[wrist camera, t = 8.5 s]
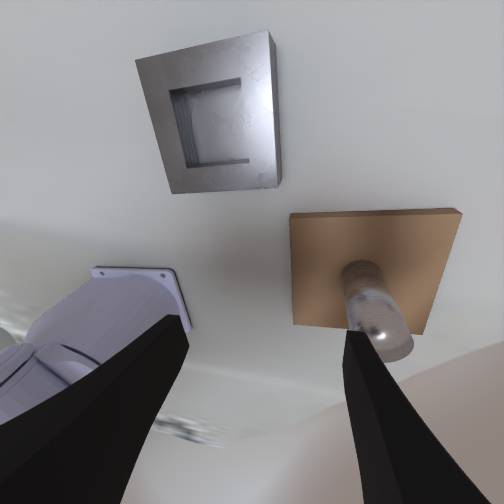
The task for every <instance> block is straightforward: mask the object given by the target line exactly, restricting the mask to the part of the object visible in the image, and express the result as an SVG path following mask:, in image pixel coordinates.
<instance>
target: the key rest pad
mask: <svg viewBox="0 0 504 504" xmlns="http://www.w3.org/2000/svg"><path fill="white" fill-rule="evenodd" d="M461 217H462V213H461V212H459V211H458V210H456V209H454V208H444V209H413V210H383V211H352V212H322V213H292V214H290V242H291V269H292V297H293V324H294V325H307V326H319V327H331V328H343V329H350V328H349V323H348V317H347V312H346V306H345V301H344V295H343V290H342V284H341V279H340V275H341V272H342V270H343V269H344V267H345V266H347V265H348V264H350V263H352V262H354V261H358V260H367V261H371V262H373V263H375V264H377V265H378V266H379V267H380V269H381V271H382V273H383V275H384V277H385V279H386V282H387V284H388V286H389V288H390V290H391V293H392V295H393V297H394V299H395V301H396V303H397V306H398V308H399V310H400V312H401V314H402V316H403V319H404V321H405V323H406V325H407V327H408V330H409V332H410V334H417V335H423V332H424V329H425V326H426V323H427V320H428V317H429V314H430V311H431V308H432V305H433V302H434V299H435V296H436V293H437V290H438V287H439V284H440V281H441V278H442V275H443V272H444V269H445V266H446V263H447V260H448V257H449V254H450V251H451V248H452V245H453V242H454V239H455V236H456V233H457V230H458V227H459V224H460V220H461Z"/></svg>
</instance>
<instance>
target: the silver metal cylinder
mask: <svg viewBox="0 0 504 504" xmlns="http://www.w3.org/2000/svg"><path fill="white" fill-rule="evenodd" d="M340 279H341V284H342V290H343V295H344V301H345V306H346V312H347V317H348V323H349V328H350V330H352V331H363V332H365V333H366V334H367V336H368V337H369V339H370V341H371V343H372V345H373V346H374V348H375V350H376V352H377V353H378V355H379V357H380V358H381V360H382V361H383V363H388V362H394V361H398V360H400V359H403V358H405V357H406V356H407V355H409V354H410V353H411V351H412V350H413V347H414V341H413V338H412V336H411V334H410V332H409V330H408V327H407V325H406V323H405V321H404V319H403V316H402V314H401V312H400V310H399V308H398V306H397V303H396V301H395V299H394V297H393V295H392V293H391V290H390V288H389V286H388V284H387V282H386V279H385V277H384V275H383V273H382V271H381V269H380V267H379V266H378V265H377V264H375V263H373V262H371V261H367V260H358V261H354V262H352V263H350V264H348V265H347V266H345V267H344V269H343V270H342V272H341V275H340Z"/></svg>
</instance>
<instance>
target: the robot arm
mask: <svg viewBox="0 0 504 504" xmlns="http://www.w3.org/2000/svg"><path fill="white" fill-rule="evenodd" d="M90 272H91V274H92V276H93V278H92V279H91V280H90V281H88V282H87V283H86V284H84V285H83V286H81V287H80V288H79V289H77V290H76V291H74V292H73V293H72V294H70V295H69V296H68V297H66V298H65V299H63V300H62V301H61V302H59V303H58V304H57V305H55V306H54V307H52V308H51V309H50V310H48V311H47V312H46V313H44V314H43V315H42V316H41V317H39V318H38V319H37V320H36V322H35V323H34V324H33V325H32V327H31V328H30V330H29V331H28V333H27V335H26V337H25V340H24V343H23V344H22V345H20V344H19V345H11V346H8V347H7V348H5V349H3V350H1V351H0V504H120V502H121V500H122V497H123V494H124V491H125V489H126V486H127V484H128V481H129V479H130V476H131V474H132V471H133V468H134V466H135V463H136V461H137V458H138V456H139V454H140V451H141V449H142V446H143V444H144V442H145V439H146V437H147V435H148V432H149V430H150V428H151V426H152V424H153V422H154V420H155V418H156V416H157V414H158V412H159V410H160V408H161V406H162V404H163V402H164V401H165V399H166V397H167V395H168V393H169V391H170V389H171V387H172V385H173V383H174V381H175V379H176V377H177V375H178V373H179V371H180V369H181V367H182V365H183V362H184V360H185V357H186V354H187V351H188V349H189V343H188V340H187V337H186V334H185V333H189V332H190V331H191V329H192V327H191V324H190V321H189V318H188V315H187V312H186V309H185V305H184V302H183V299H182V296H181V293H180V290H179V287H178V284H177V281H176V278H175V275H174V272H173V271H171V270H169V269H136V268H101V267H94V268H92V269H91V270H90ZM164 274H165V275H164ZM342 367H343V378H344V389H345V396H346V401H347V406H348V412H349V417H350V422H351V427H352V432H353V437H354V442H355V448H356V453H357V458H358V463H359V469H360V475H361V482H362V491H363V499H364V504H491V503H490V502H489V501H488V500H487V499H486V497H485V496H484V495H483V494H482V493H481V492H480V490H479V489H478V488H477V487H476V486H475V484H474V483H473V482H472V481H471V480H470V479H469V477H468V476H466V474H465V473H464V471H462V469H461V468H460V467H459V466H458V464H457V463H456V462H455V461H454V459H453V458H452V457H451V456H450V454H449V453H448V452H447V451H446V450H445V448H444V447H443V446H442V445H441V443H440V442H439V441H438V439H437V438H436V437H435V436H434V434H433V433H432V432H431V431H430V429H429V428H428V427H427V425H426V424H425V423H424V421H423V420H422V418H421V417H420V416H419V414H418V413H417V412H416V410H415V409H414V408H413V406H412V405H411V403H410V402H409V401H408V399H407V398H406V396H405V395H404V394H403V392H402V391H401V389H400V388H399V386H398V385H397V383H396V382H395V380H394V379H393V377H392V376H391V374H390V373H389V371H388V369H387V368H386V366H385V365H384V363H383V361H382V360H381V358H380V357H379V355H378V353H377V352H376V350H375V348H374V346H373V345H372V343H371V341H370V339H369V337H368V336H367V334H366V333H365V332H363V331H352V330H347V334H346V341H345V348H344V356H343V363H342Z"/></svg>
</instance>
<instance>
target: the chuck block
mask: <svg viewBox="0 0 504 504" xmlns="http://www.w3.org/2000/svg"><path fill="white" fill-rule="evenodd" d="M135 62H136V66H137V70H138V73H139V77H140V81H141V84H142V88H143V91H144V95H145V99H146V102H147V106H148V110H149V113H150V117H151V120H152V124H153V128H154V131H155V135H156V139H157V142H158V146H159V149H160V153H161V157H162V160H163V164H164V168H165V171H166V175H167V178H168V182H169V186H170V189H171V193H172V194H183V193H200V192H216V191H233V190H250V189H266V188H278V186H279V184H280V182H281V180H282V168H281V147H280V127H279V106H278V86H277V66H276V45H275V43H274V41H273V39H272V37H271V34H270V32H269V30H264V31H260V32H256V33H251V34H247V35H242V36H238V37H234V38H229V39H225V40H221V41H216V42H212V43H207V44H203V45H199V46H194V47H190V48H186V49H181V50H177V51H172V52H168V53H164V54H159V55H155V56H150V57H146V58H142V59H137V60H135Z"/></svg>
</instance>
